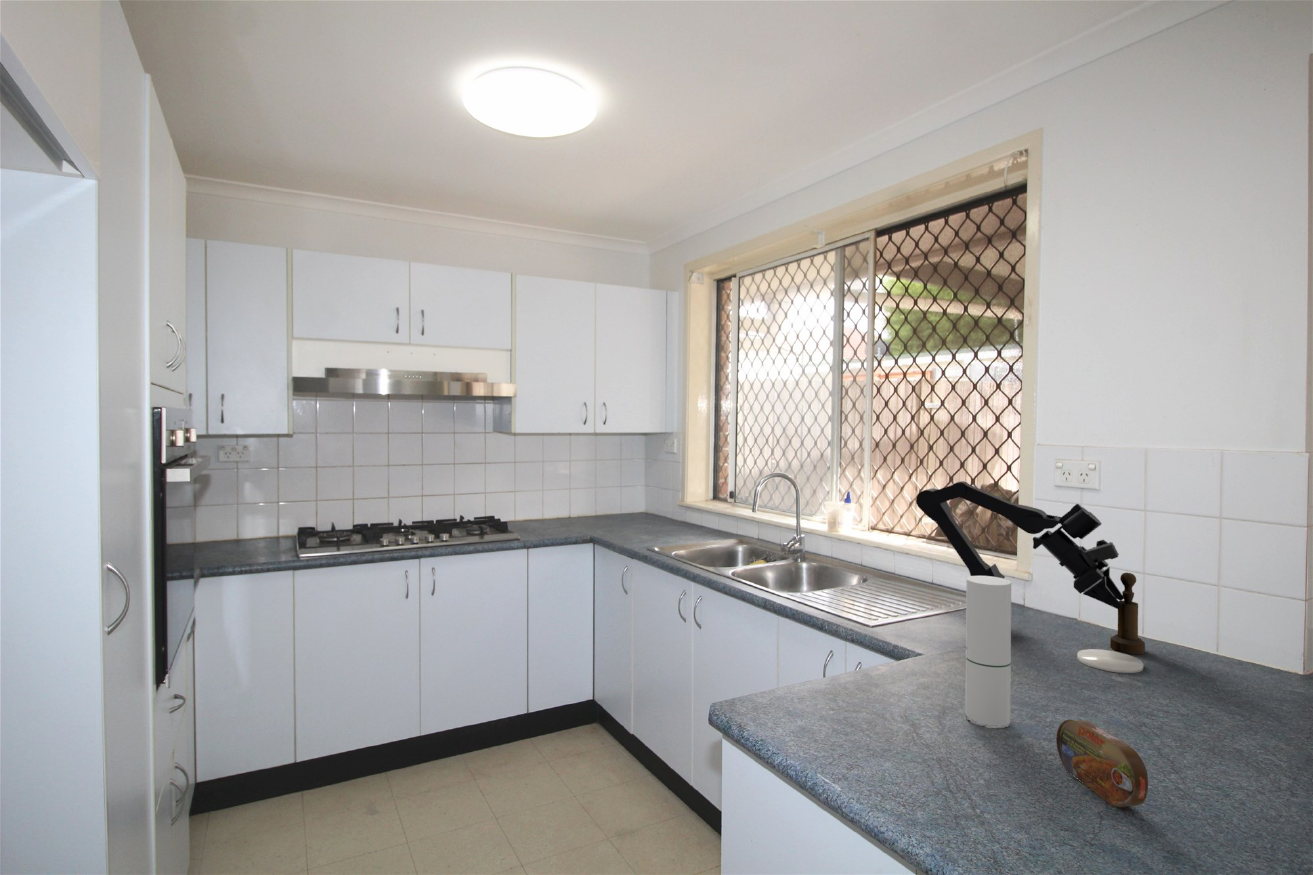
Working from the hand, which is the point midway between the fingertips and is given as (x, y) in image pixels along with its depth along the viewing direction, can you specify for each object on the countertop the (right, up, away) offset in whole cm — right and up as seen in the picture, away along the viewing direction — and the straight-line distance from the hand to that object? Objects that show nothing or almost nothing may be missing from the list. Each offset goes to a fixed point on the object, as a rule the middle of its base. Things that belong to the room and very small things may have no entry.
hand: (1121, 603), depth 156 cm
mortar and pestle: (+1, -11, -1) cm, 11 cm away
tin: (-45, -12, -59) cm, 75 cm away
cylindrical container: (-50, -12, -37) cm, 63 cm away
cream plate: (-9, -11, -9) cm, 17 cm away
